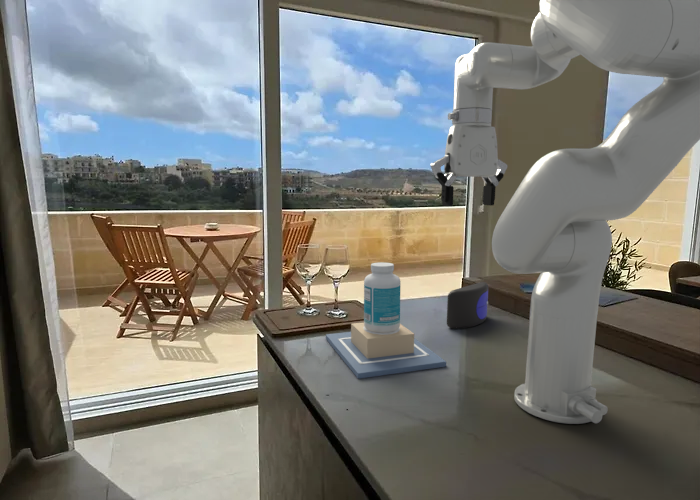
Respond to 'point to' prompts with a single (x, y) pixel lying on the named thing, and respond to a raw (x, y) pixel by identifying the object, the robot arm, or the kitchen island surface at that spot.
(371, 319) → the pill bottle
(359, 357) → the board
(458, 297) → the black curved block
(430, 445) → the kitchen island surface
